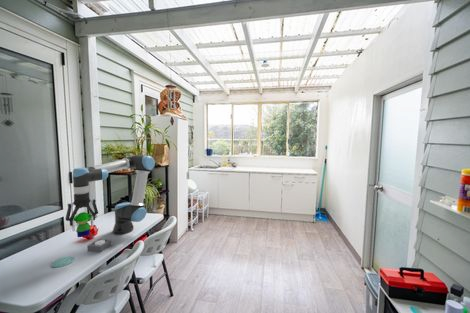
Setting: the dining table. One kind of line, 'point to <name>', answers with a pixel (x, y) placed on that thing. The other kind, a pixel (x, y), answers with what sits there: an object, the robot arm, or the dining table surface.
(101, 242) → the dome
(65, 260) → the pad
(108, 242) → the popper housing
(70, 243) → the dining table surface
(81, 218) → the toy
